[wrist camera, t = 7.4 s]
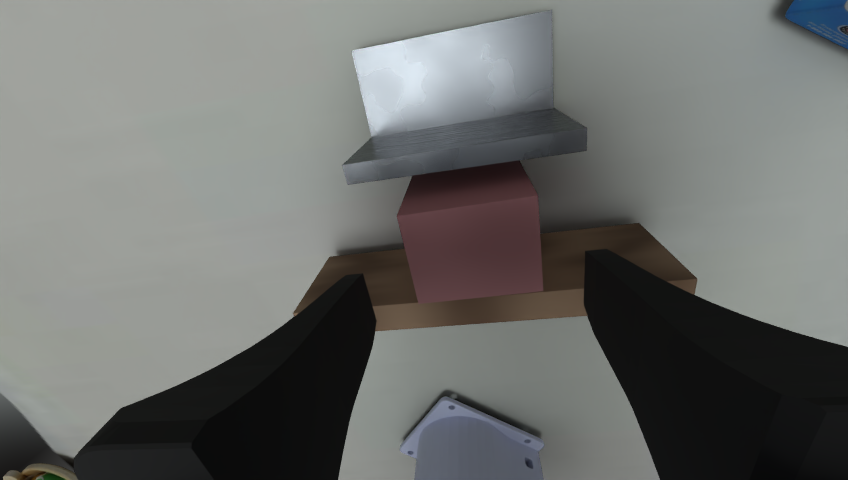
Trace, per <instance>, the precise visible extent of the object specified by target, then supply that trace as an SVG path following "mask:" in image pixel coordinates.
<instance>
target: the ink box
mask: <svg viewBox="0 0 848 480" xmlns="http://www.w3.org/2000/svg"><path fill="white" fill-rule="evenodd" d="M785 17H786V19H788V20H790V21H792V22H794V23H796V24H798V25H800V26H802V27H804V28H806V29H808V30H810V31H812V32H814V33H816V34H818V35H820V36H822V37H824V38H826V39H828V40H830V41H832V42H834V43H836V44H838V45H840V46H842V47H844V48H846V49H848V0H794V1H793V2H792V4H791V5H790V7H789V9H788V10H787V12H786V16H785Z"/></svg>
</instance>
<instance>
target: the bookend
mask: <svg viewBox="0 0 848 480" xmlns="http://www.w3.org/2000/svg"><path fill="white" fill-rule="evenodd" d="M352 55H353V59H354V64H355V68H356V72H357V76H358V81H359V85H360V89H361V94H362V98H363V102H364V106H365V111H366V115H367V119H368V124H369V128H370V132H371V136H372V137H371V138H370V139H369V140H368V141H367V142H366V143H365V144H364V145H363V146H362V147H361V148H360V149H359V150H358V151H357V152H356V153H355V154H353V155H352V156H351V157H350V158H349V159H348V160H347V161H346V162H345V163H344V164H343V165H342V166H343V170H344V173H345V177H346V181H347V184H348V185H349V184H356V183H364V182H371V181H378V180H385V179H392V178H399V177H406V176H413V175H420V174H427V173H434V172H441V171H448V170H455V169H462V168H469V167H476V166H483V165H490V164H497V163H504V162H511V161H518V160H525V159H532V158H539V157H546V156H553V155H560V154H567V153H574V152H581V151H586V150H587V127H585V126H583V125H581V124H580V123H578V122H576V121H575V120H573V119H571V118H570V117H568V116H566V115H565V114H563V113H561V112H560V111H558V110H556V109H555V108H553V51H552V10H548V11H543V12H538V13H533V14H529V15H524V16H519V17H514V18H509V19H504V20H499V21H494V22H489V23H485V24H480V25H475V26H470V27H465V28H460V29H455V30H450V31H446V32H441V33H436V34H431V35H426V36H421V37H416V38H411V39H406V40H402V41H397V42H392V43H387V44H382V45H377V46H372V47H367V48H363V49H358V50H353V51H352Z"/></svg>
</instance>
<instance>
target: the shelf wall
mask: <svg viewBox="0 0 848 480" xmlns="http://www.w3.org/2000/svg"><path fill="white" fill-rule="evenodd" d="M540 239H541V257H542V274H543V291H540V292H530V293H520V294H511V295H501V296H491V297H481V298H472V299H462V300H452V301H442V302H432V303H423V304H418V300H417V296H416V292H415V287H414V283H413V279H412V275H411V271H410V267H409V263H408V259H407V255H406V251H405V249H397V250H388V251H379V252H370V253H361V254H351V255H342V256H333V257H329V258H328V260H327V261H326V263H325V265H324V266H323V268H322V269H321V271H320V272H319V274H318V275H317V277H316V279H315V280H314V282H313V283H312V285H311V286H310V288H309V289H308V291H307V292H306V294H305V296H304V297H303V299H302V300H301V302H300V303H299V305H298V306H297V308H296V310H295V311H294V313H293V314H294V316H296V315H297V314H298V313H300V312H301V311H302V310H304V309H305V308H306V307H307V306H308V305H310V304H311V303H312V302H313V301H314V300H316V299H317V298H318V297H319V296H320V295H322V294H323V293H324V292H325V291H326V290H328V289H329V288H330V287H331V286H332V285H334V284H335V283H336V282H337V281H338V280H340V279H341V278H342V277H344V276H345V275H351V274H361V273H363V275H364V279H365V282H366V285H367V289H368V292H369V296H370V299H371V303H372V306H373V309H374V313H375V316H376V320H377V322H376V329H375V331H385V330H398V329H412V328H426V327H439V326H453V325H467V324H480V323H494V322H507V321H521V320H535V319H548V318H562V317H576V316H587V313H586V310H585V307H584V273H585V251H589V250H599V249H608V250H610V251H612V252H614V253H616V254H618V255H619V256H621V257H623V258H625V259H626V260H628V261H630V262H632V263H634V264H635V265H637V266H639V267H641V268H642V269H644V270H646V271H648V272H650V273H652V274H653V275H655V276H657V277H659V278H661V279H663V280H665V281H667V282H669V283H671V284H673V285H675V286H677V287H679V288H681V289H683V290H685V291H687V292H689V293H691V294H693V295H694V294H695V289H696V284H697V278H696V277H695V276H694V275H693V274H692V273H691V272H690V271H689V270H688V269H687V268H686V267H685V266H683V265H682V264H681V263H680V262H679V261H678V260H677V259H676V258H675V257H674V256H673V255H672V254H671V253H670V252H669V251H668V250H667V249H666V248H665V247H664V246H663V245H661V244H660V243H659V242H658V241H657V240H656V239H655V238H654V237H653V236H652V235H651V234H650V233H649V232H648V231H647V230H646V229H645V228H644V227H643V226H642V225H641V224H639V223H634V224H624V225H615V226H606V227H597V228H588V229H579V230H570V231H561V232H552V233H543V234H540Z"/></svg>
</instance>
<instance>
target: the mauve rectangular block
mask: <svg viewBox="0 0 848 480" xmlns="http://www.w3.org/2000/svg"><path fill="white" fill-rule="evenodd" d="M397 219H398V223H399V227H400V231H401V235H402V239H403V243H404V247H405V251H406V255H407V259H408V263H409V267H410V271H411V275H412V279H413V283H414V287H415V292H416V296H417V300H418V304H423V303H432V302H442V301H452V300H462V299H472V298H481V297H491V296H501V295H511V294H520V293H530V292H540V291H543V274H542V257H541V239H540V221H539V204H538V195H537V193H536V191H535V189H534V187H533V185H532V183H531V182H530V180H529V178H528V176H527V174H526V172H525V171H524V169H523V167H522V165H521V163H520V161H519V160H518V161H511V162H504V163H497V164H490V165H483V166H476V167H469V168H462V169H455V170H448V171H441V172H434V173H427V174H420V175H413V176H412V179H411V181H410V184H409V186H408V189H407V192H406V194H405V197H404V199H403V202H402V204H401V207H400V209H399V212H398V214H397Z"/></svg>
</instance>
